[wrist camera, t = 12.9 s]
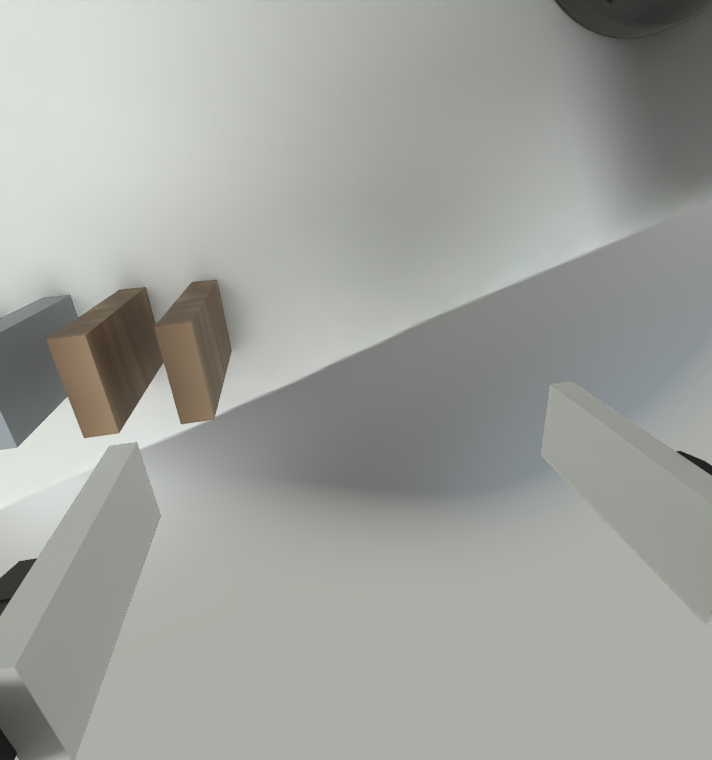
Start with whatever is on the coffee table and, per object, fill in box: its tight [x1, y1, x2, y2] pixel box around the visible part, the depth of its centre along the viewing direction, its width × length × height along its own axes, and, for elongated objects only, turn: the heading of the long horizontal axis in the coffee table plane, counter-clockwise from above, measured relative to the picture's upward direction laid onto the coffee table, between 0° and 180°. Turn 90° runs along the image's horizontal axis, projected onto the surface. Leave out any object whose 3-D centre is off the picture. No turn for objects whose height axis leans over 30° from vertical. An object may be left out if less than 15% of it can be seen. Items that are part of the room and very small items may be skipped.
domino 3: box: [154, 280, 231, 424], centre depth 25 cm, size 2×5×10 cm, turn 4°
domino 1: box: [0, 295, 78, 450], centre depth 24 cm, size 2×5×10 cm, turn 4°
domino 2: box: [46, 287, 164, 438], centre depth 25 cm, size 2×5×10 cm, turn 4°
